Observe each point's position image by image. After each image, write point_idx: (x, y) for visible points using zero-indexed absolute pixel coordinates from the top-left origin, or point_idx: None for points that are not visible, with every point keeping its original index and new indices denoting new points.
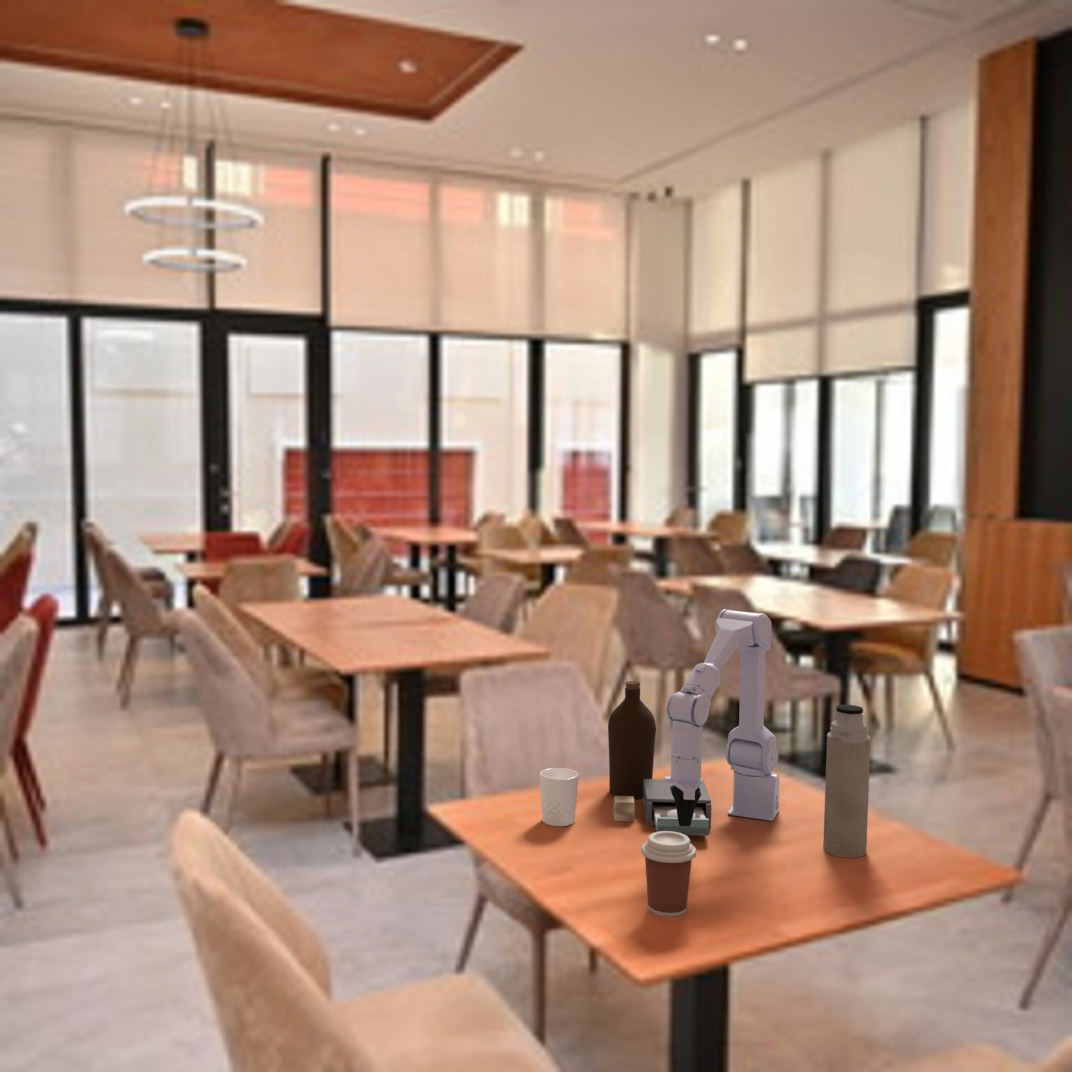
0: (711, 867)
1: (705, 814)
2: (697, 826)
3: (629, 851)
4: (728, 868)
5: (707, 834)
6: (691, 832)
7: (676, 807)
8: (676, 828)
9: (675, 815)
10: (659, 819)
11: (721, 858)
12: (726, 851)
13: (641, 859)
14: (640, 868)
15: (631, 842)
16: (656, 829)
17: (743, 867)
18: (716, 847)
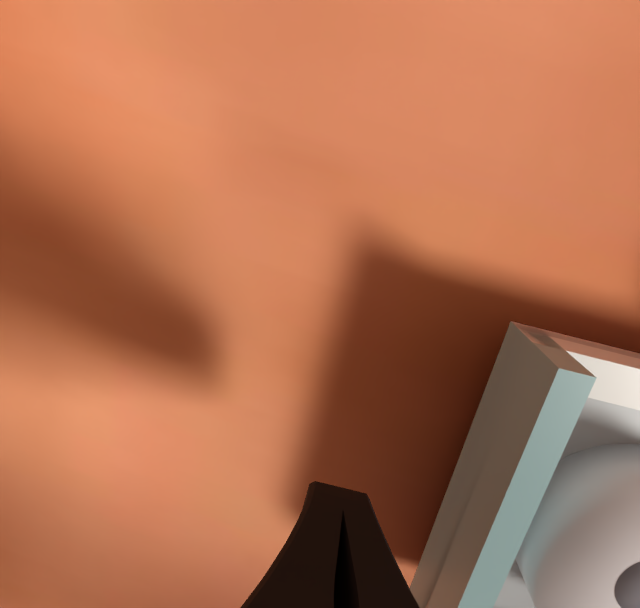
0: (47, 459)
1: None
2: (431, 597)
3: (338, 48)
4: (35, 527)
5: None
6: (438, 533)
7: (327, 595)
8: (477, 465)
9: (633, 538)
10: (548, 381)
11: (165, 545)
12: None
13: (182, 96)
14: (27, 40)
15: (509, 117)
16: (580, 340)
17: (48, 590)
18: None
